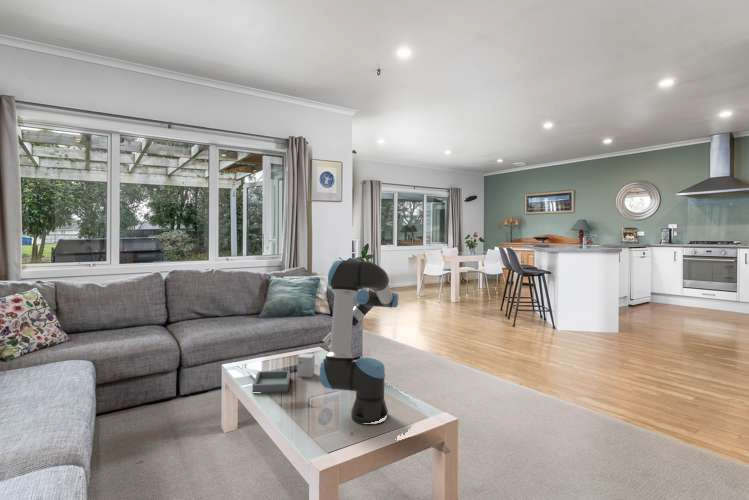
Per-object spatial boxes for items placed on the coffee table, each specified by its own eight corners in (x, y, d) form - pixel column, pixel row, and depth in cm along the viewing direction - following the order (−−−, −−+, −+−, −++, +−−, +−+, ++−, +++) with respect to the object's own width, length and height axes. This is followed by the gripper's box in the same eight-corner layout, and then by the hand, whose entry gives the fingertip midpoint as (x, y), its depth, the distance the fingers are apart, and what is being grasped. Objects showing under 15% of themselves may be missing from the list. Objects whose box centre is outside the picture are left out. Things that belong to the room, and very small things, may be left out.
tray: (287, 392, 185) (287, 384, 185) (252, 393, 183) (252, 385, 183) (289, 378, 203) (290, 370, 203) (257, 379, 201) (258, 371, 200)
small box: (314, 373, 211) (315, 354, 210) (311, 377, 205) (312, 357, 205) (300, 372, 211) (300, 353, 211) (296, 376, 206) (297, 356, 205)
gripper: (365, 326, 204) (336, 357, 200) (353, 316, 228) (326, 343, 224) (356, 316, 202) (326, 347, 198) (344, 307, 226) (317, 335, 222)
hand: (326, 345), depth 211 cm, fingers open, 13 cm apart
